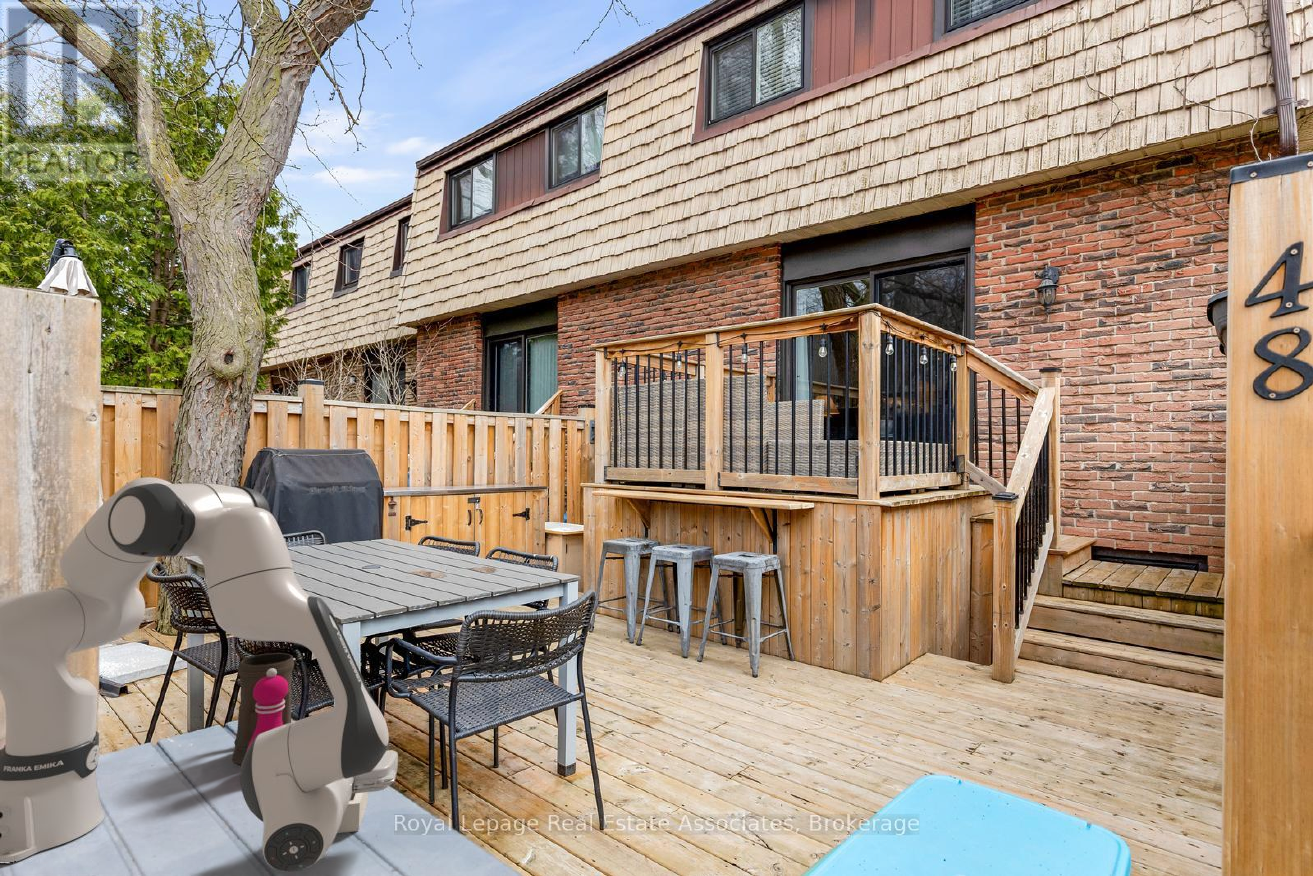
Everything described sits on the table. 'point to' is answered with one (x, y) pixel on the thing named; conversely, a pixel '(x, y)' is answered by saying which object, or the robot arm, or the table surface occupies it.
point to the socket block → (354, 813)
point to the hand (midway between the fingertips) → (339, 753)
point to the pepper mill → (269, 702)
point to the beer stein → (247, 717)
